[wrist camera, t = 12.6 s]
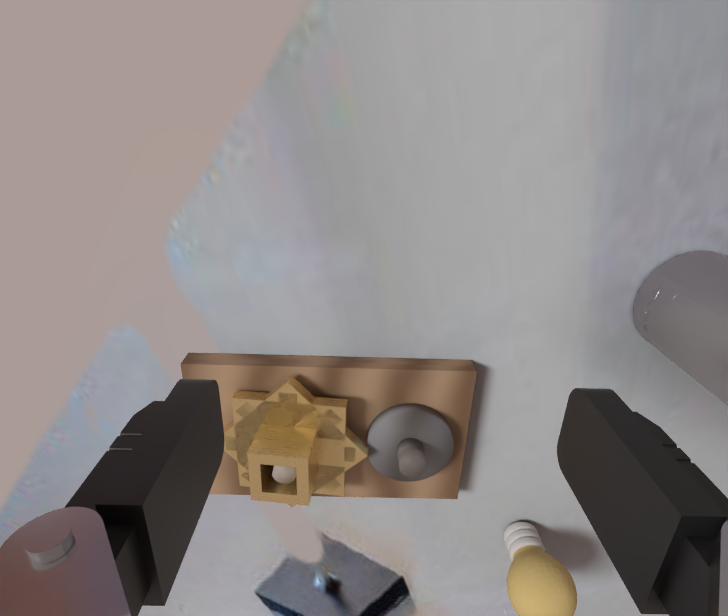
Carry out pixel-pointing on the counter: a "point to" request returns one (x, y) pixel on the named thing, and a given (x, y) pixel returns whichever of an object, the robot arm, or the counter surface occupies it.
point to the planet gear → (291, 442)
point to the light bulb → (536, 576)
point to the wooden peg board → (364, 415)
